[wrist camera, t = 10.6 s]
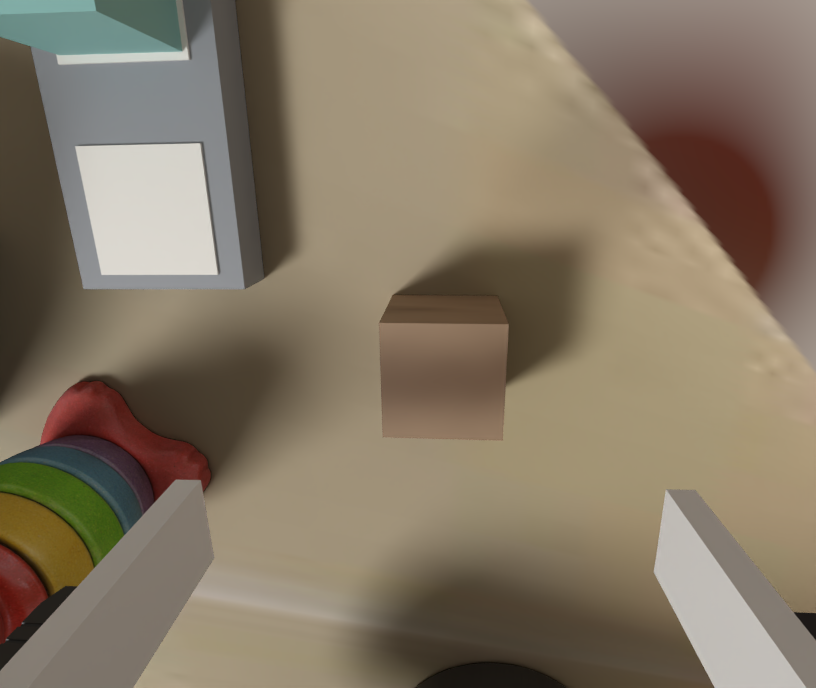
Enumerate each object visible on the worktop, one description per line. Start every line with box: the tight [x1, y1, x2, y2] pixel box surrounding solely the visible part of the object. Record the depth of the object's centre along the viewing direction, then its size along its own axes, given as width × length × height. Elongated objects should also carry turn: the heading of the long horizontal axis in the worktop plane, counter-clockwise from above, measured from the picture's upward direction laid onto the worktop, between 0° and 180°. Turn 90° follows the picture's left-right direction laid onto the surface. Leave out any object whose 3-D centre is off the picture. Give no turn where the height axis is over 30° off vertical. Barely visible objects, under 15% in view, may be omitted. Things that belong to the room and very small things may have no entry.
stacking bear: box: [0, 381, 211, 644], centre depth 26 cm, size 11×10×18 cm
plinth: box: [31, 0, 264, 289], centre depth 26 cm, size 18×9×3 cm, turn 1°
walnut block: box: [379, 295, 509, 441], centre depth 27 cm, size 6×6×6 cm
